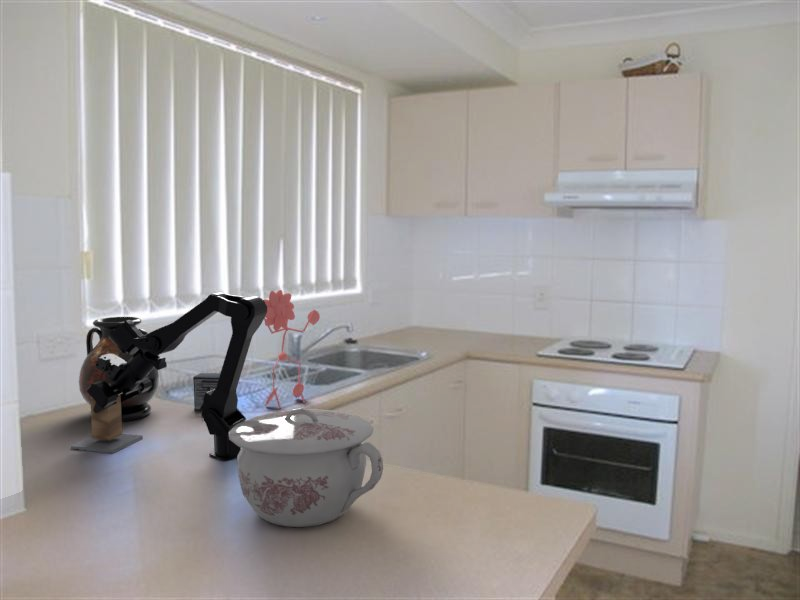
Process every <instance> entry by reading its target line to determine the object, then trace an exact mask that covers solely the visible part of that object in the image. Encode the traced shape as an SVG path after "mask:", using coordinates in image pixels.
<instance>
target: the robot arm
mask: <svg viewBox="0 0 800 600" xmlns="http://www.w3.org/2000/svg"><path fill="white" fill-rule="evenodd" d="M217 313H219V314H221V315H223V316H225V317H229V318H230V325H231V331H232V333H231V337H230V341H229V343H228V345H227V346H228V347H227V350H226V354H225V356H224V360H223V364H222V366H221V371H220V372H219V373H220V377H219V380H218V383H217V386H216V388H215V389H214V390H211V391H209V392H207V393H205V395H204V401H203V404H202V406H201V407H200V409H202V411H201V414H200V415H201V418H202V419H203V421H204V423H205V426H206V428H207V431H208V433H209V435H212V436H213V444H214V448H213V449H214V451H212V452H209V453H208V455H209V456H210V457H213V458H214V459H218V460H221V461H223V462H224V461H225V462H226V461H229V460H233V459H237V456H238V454H239V452H240V450H241V447H239V446H237V445H236V444H235V443H233V442H232V441H231V440H229V431H230V430H231V429H232V428H233V427H234V426H235V425H236V424H238V423H240V422H242V421H245V420H247V418H246V416H245V415H244V414H243V413H242V412H241V411H240V410H239V408H238V403H239V402H238V401H239V398H238V394H237V393H238V392H237V389H238V386H239V382H240V378H241V375H242V371H243V368H244V365H245V363H246V358H247V355H248V351H249V348H250V346H251V344H252V343H251V341H252V338H253V336H254V334H255V333H256V332H257V331H258V329H259V328H260V326H261V325H262V324H263V321H265V320H264V318H265V319H266V317H265V316H266V313H267V305H266V304H265V302H264V299H263V298H261V297H260V296H254V295H253V296H250V297H249V296H248V297H246V296H241V295H234V294H227V293H225V292H215V293H210V294H209V295H208V296H207V297H206V298H205V299H204V300H202V301H201V302H199V303H198V304H197V305H195V306H194V307H193V308H192V309H189V310H188V311H187V312H186V313H184V314H182V316H180V317H178V318H177V319H176V320H174V321H173V322H171V323H170V324H169V323H168V324H167V325H164V326H161V327H158V328H157V329H155V330H152V331H150V332H149V333H148V332H147V333H148V334H146V335H143V334H142V333H141V332H140V331H139V330H138V329H139V328H138V326H137V325H136V326H135V324H134V323H133V322H132V321H131V320H127V321H125V322H124V323H123V324H121V325H120V326H118V327H117V328H115V329H114V330H112V331H111V332H110V334H109V336H108V337H109V338H110V340H111V341H112V342H113V343H114V344H115V345H116V346H117V347H118V349H119V350H120V351H121V352H122V353H123V354H127V353H129V354H130V355H131V354H134V353H135V352H136V353H135V354H134V355H133V356H132V357H131V359H130V360H129V361H128V362H125V360H123V359H121V358H120V357H118V356H116V355H114V354H111V353H110V354H106V355H102V356H101V357H99V358H98V360H97V361H95V364H96V365H95V367H96V368H97V369H98V370H100V371H102V372H106V373H107V374H110V376H109V377H108V378H109V379H110V380H111V381H113V383H110V386H111V387H110V386H109V385H108V384H107V383H106V382H105V381H98V382H95V383H92V384H91V385H90V386H89V387H88V388H87V392H88V393H89V394H90V395H91V397H92V398H93V399H94V400H95V401H96V403H95V406H94V408H93V411H94V412H95V413H98V412H100V411H102V410H104V409H106V408H108V407H110V406H112V405H115V404H117V402H116V400H117V398H118V395H119V394H120V395H121V402H124V401H126V400H128V399H130V398H132V397H135V396H137V395H139V392H138V391H137V390H138V389H139V387H138V385H139V384H140V386H141V387H142V389H141V390H140V392H141V393H143V392H145V391H148V390H149V389H150V388H151V386H152V381H151V380H150V379H149V376H148V374H149V373H150V372H151V371H152V370H153V368H154V367H155V368H156V369H157V370H158V371H160V370H162V369H165V368H167V366H168V365H167V361H166V356H165V357H162V356H161V355H162V354H166V353H168V352H172V351H174V350H176V349H177V348H178V346H179V345H180V344H182V343H183V341H184V339H185V338H186V336H187V335H188V334H189V333H190V332H192V331H193V330H195V329H196V328H197V327H198V328H199V326H200V325H202V324H203V323H205V322H206V321H208V320H209V319H210V318H212V317H213V316H215V315H216V314H217Z"/></svg>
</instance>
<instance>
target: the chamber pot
mask: <svg viewBox="0 0 800 600" xmlns="http://www.w3.org/2000/svg"><path fill="white" fill-rule="evenodd" d="M374 429H375V428H374V427H373V426H372V424H371V423H370V422H369V421H368V420H367V419H365V418H362V417H360V416H358V415H355V414H352V413H346V412H343V411H338V410H329V409H316V408H315V409H311V408H310V409H309V408H308V409H307V408H306V409H305V408H300V407H298V408H294V409H287V410H280V411H274V412H267V413H265V414H260V415H257V416H253V417H250V418H246V420H245V421H242V422H240V423H238V424H236V425H235V426H234V427H233V428H232V429H231V430H230V431H229V440H231V441H232V442H233V443H235V444H236V445H237V446H239V447H241V450H240V452H239V454H238V456H237V457H236V460H237V461H236V462H237V463H236V464H237V476H238V481H239V484H240V489H241V492H242V495H243V496H244V498H245V500H246V502H248V504H249V506H250V507H251V508H252V510H253V511H254V513H256V514H257V515H258V516H259V517H260V518H261V519H262V520H264V521H265V522H267V523H270V524H273V525H277V526H282V527H291V528H295V527H296V528H306V527H313V526H318V525H323V524H325V523H326V524H327V523H330V522H332V521H334V520H336V519H339V518H340V517H341V516H342V515H344V514H345V513H346V511H348V510H349V509H350V507H352V505H353V504H354V503H355V502H356V501H357V500H358V499H359V498H360V497H361V496H363V495H364V494H366V493H368V492H370V491H371V490H373V489H374V488H375V487H376V486H377V484H378V483H379V482H380V480H381V479H382V476H383V471H384V463H383V462H384V461H383V460H384V459H383V456H382V453H381V452H380V450H379V449H377V447H376V446H375V445H374V444H373V443H371V441H366V440H367V439H369V438H370V437H371V436H372V435H373V433H374ZM364 441H366V442H364ZM363 442H364V443H363ZM367 457H368V458H369V460H370V463H371V465H370V466H371V473H370V477H369V480H368V481H367V482H366V483H365V485H364V486H362V485H363V480H364V477H365V472H366V466H367Z"/></svg>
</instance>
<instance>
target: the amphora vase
mask: <svg viewBox="0 0 800 600" xmlns="http://www.w3.org/2000/svg"><path fill="white" fill-rule="evenodd" d="M127 320H131V321H132V322H133V323H134V324H135V326H136V327H137V326H138V325H140V324H141V323H142V319H141V318H140V317H135V316H111V317H102V318H97V319H95V320H93V322H92V325H93V327H92V328H90V329H89V330H88V332H87V334H86V339H85V340H86V342H85V343H86V344H85V345H86V357H85V359H84V360H83V362H82V365H81V367H80V371H79V376H78V388H79V392H80V394H81V396H82V398H83V400H84V401H85V402H86V403H87V404H88V405H89V406H90V407H91V404H90V398H91V395H90V394H89V393H88V392H87V388H88V387H89V386H90V385H91V384H92V383H95V382H98V381H105V382H106V383H107V384H108V385H109V386H110V383H113V381H111V380H110V379H109V378H108V377H109V376H110V374H107V373H106V372H102V371H100V370H98V369H97V368H96V367H95V365H96V364H95V361H97V360H98V358H99V357H101V356H102V355H106V354H110V353H111V354H114V355H116V356H118V357H120V358H121V359H123V360H125V362H128V361H129V360H130V359H131V357H132V356H133V355H134V354H135V353H136V352H135V353H134V354H131V355H130V354H129V353H127V354H123V353H122V352H121V351H120V350H119V349H118V347H117V346H116V345H115V344H114V343H113V342H112V341H111V340H110V338H109V337H108V336H109V334H110V332H111V331H112V330H114V329H115V328H117V327H118V326H120V325H121V324H123V323H124V322H125V321H127ZM138 330H139V331H140V332H141V333H142V334H143V335H146V334H148V331H147V330H145V329H143V328H138ZM95 333H96V334H97V335H98V338H99V341H98V343H97V344H96V345H95V346H94V345H93V339H94V334H95ZM159 371H160V370H157V369H156V368H155V367H154V368H153V370H152V371H151V372H150V373H149V374H148V376H149V379H150V380H151V381H152V386H151V388H150V389H149V390H148V391H145V392H143V393H141V392H140V390H141V389H142V387H141V386H140V384H139V385H138V387H139V389H138V390H137V391H138V392H139V395H137V396H135V397H132V398H130V399H128V400H126V401H124V402H121V416H122V423H123V422H129V421H133V420H138V419H141V418H143V417H145V416H148V415H149V414H150V413H151V411H152V408H153V407H152V406H151V404H150V403H149V402H150V401H151V400H153V398H154V397H155V395H156V393H157V392H158V389H159V386H160V372H159ZM110 387H111V386H110ZM89 414H90V416H91V411H90V413H89Z"/></svg>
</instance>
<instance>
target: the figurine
mask: <svg viewBox="0 0 800 600" xmlns="http://www.w3.org/2000/svg"><path fill="white" fill-rule="evenodd" d="M291 299H292V294H291V293H290V292H286V293H284V294H283V290H281V289H278V290H277V291H276V292H275V291H274V290H271V291H270V292H269V295H268V299H265V298H264V299H263V300H264V302H265V304H266V305H267V313H266V316H265V318H264V320H263V321H264V325H265V326H266V327H267V328H268V330H269V331H270V334H271V335H272V334H275V333H279V332H282V331H284V333H283V335H282V345H281V352H280V353H278V356H277V358H278V359H277V361H276V362H275V364H274V366H273V368H272V391H271V393H269V396H267V397H268V398H266V402H265V405H264V406H265V407H267V406H268V404H270V402H272V400H273V399H274V397H275V399H276V402H277V403H276V404H277V406H278V409H279V408H280V409H282V407H281V404H280V400H279V396H278V393H277V391H278V387H275V368H276V366H277V364H278V363H279V361H281V362H284V361H286V360H290V361H293V362H295V363H298V367H299V368H298V377H297V378H298V380H297V384H295V385H294V387H293V388H292V395H293V396H294V398H296V399H298V398H299V397H300V396H301V399H302V403H303V404H305V403H306V401H305V398H304V395H303V392H304V390H305V386H304V384H303V383H302V382H300V379H301V378H300V377H301V364H302V363H301V362H300V361H297V360H295V359H292V358H291V357H288V354H287V353H286V352H284V346H285V341H286V339H285V338H286V334H287V332H288V331H289V330H290V331H294V332H298V333H304V332H305V331H306V330H307V327H308V326H309V324H311V325H312V326H314V325H316V324H317V322H319V320H320V318H321V317H320V313H319V312H318V311H317V310H316V309H313V310H311V311H310V312H309V313H308V315H307V322H306V324H305V325H304V328H303V330H301V329H295V328H290V327H288V322H289V321H294V319H295V317H296V315H295V312H294V311H293V310H294V309H295V305H294V304H293V302H291ZM271 326H273V327H272V328H273V329H274V331H273V330H272V328H271ZM273 396H274V397H273ZM297 397H298V398H297ZM318 399H320V400H321V398H320V397H318ZM266 405H267V406H266Z"/></svg>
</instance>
